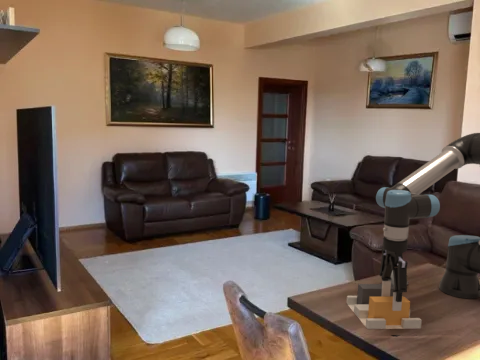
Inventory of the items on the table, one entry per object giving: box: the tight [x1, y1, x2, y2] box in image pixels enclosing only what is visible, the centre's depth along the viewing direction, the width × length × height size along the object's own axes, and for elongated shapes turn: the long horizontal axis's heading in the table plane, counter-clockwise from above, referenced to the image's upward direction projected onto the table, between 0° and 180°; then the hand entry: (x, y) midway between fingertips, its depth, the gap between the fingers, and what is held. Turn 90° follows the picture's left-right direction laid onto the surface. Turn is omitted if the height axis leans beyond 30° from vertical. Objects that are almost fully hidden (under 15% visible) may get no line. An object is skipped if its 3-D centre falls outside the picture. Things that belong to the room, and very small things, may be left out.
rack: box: [346, 295, 423, 330], centre depth 151 cm, size 18×20×4 cm
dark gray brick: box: [356, 283, 395, 304], centre depth 156 cm, size 12×4×8 cm, turn 96°
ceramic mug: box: [381, 270, 409, 288], centre depth 182 cm, size 11×8×8 cm
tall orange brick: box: [368, 295, 411, 325], centre depth 145 cm, size 12×4×8 cm, turn 96°
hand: (390, 304), depth 145 cm, fingers open, 8 cm apart
